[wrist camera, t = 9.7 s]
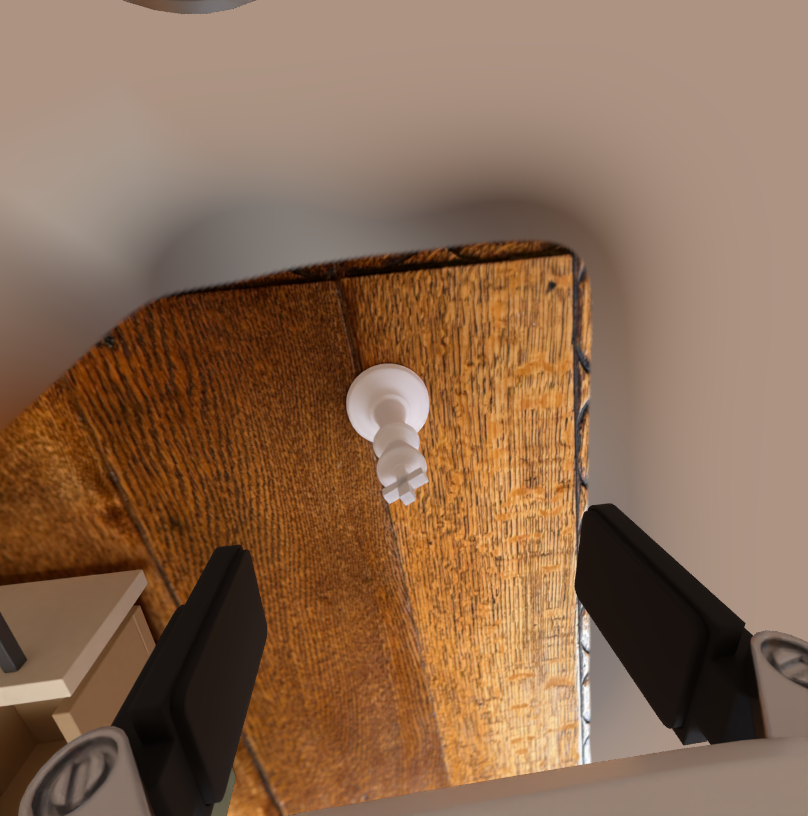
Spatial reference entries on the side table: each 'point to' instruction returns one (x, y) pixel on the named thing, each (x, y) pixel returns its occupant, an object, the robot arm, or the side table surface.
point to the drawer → (64, 666)
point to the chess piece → (392, 425)
